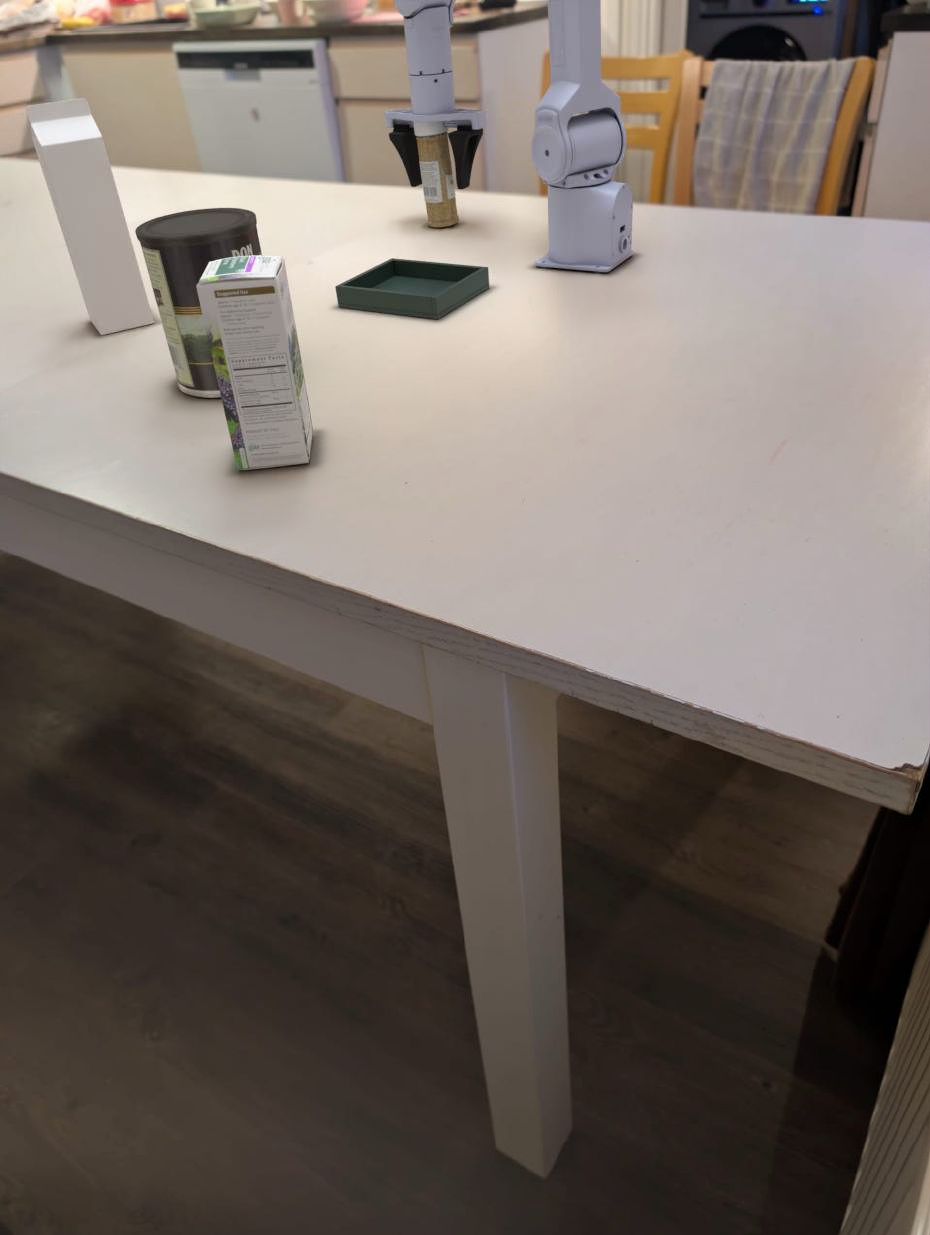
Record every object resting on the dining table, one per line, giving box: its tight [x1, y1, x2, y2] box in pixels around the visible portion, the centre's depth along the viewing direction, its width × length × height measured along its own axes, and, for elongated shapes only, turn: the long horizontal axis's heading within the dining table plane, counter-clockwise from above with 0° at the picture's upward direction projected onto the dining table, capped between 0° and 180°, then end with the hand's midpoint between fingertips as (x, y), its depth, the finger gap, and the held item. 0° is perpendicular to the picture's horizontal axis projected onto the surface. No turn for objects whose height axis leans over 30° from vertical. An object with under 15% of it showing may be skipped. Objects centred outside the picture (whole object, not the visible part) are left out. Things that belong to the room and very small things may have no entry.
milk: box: [25, 97, 155, 336], centre depth 96 cm, size 6×6×22 cm
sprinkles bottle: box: [413, 121, 460, 228], centre depth 124 cm, size 5×5×14 cm
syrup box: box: [196, 254, 314, 471], centre depth 68 cm, size 6×6×14 cm
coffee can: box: [134, 207, 263, 399], centre depth 83 cm, size 10×10×14 cm
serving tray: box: [334, 257, 490, 320], centre depth 102 cm, size 13×11×2 cm
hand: (439, 186), depth 125 cm, fingers open, 7 cm apart
